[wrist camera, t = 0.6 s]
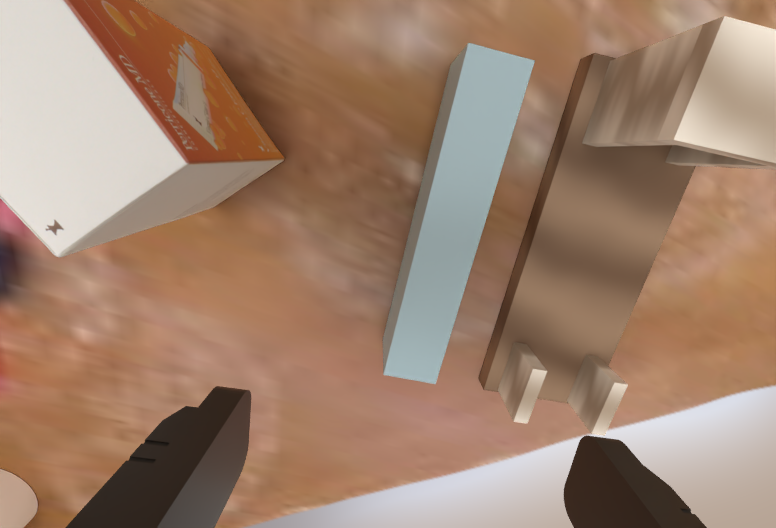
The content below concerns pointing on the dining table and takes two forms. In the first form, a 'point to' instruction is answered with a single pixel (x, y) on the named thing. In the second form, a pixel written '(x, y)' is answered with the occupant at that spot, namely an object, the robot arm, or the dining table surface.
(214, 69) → the small box
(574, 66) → the dining table surface
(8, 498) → the cylindrical container
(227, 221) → the dining table surface
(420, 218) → the slat
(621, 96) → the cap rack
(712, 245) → the dining table surface
